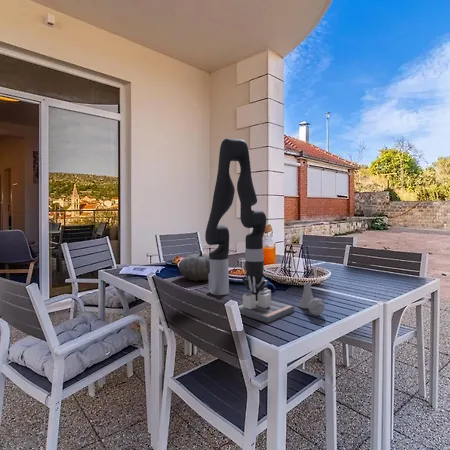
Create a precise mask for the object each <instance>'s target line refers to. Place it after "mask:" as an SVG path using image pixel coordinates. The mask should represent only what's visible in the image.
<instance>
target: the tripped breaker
mask: <svg viewBox="0 0 450 450" xmlns="http://www.w3.org/2000/svg"><path fill="white" fill-rule="evenodd" d="M258 306H259V307H263V308H268V307H270V306H271V305H270V294H268V293H267V292H262V293H259V294H258Z"/></svg>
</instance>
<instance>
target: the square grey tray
mask: <svg viewBox="0 0 450 450" xmlns="http://www.w3.org/2000/svg"><path fill="white" fill-rule="evenodd" d="M270 305H271V306H270V307H268V308H263V307H259V306H258V301H256V308H253V309H247V308H244V307H243V304H240V305H238V306H239V308H240V311H241V314H242V316H244V315H245V316H246V317H248V318H251V319H253V320H257V321H260V322H264V323H270V322H273V321H276V320H278V319H280V318H282V317H284V316H288V315H289V314H292V313H293V312H295V306H293V305H290V304H286V303H281V302H278V301H275V300H271V302H270ZM241 314H240V315H241ZM245 316H244V317H245Z"/></svg>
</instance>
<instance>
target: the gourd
mask: <svg viewBox="0 0 450 450" xmlns="http://www.w3.org/2000/svg"><path fill="white" fill-rule="evenodd" d="M178 269H179V272H180V274H181V275H182V276H184V278H185V279H188V280H190V281H192V280H193V282H199V281H201V280H203V281H209V278H208V274H209V273H210V264H209V255H203V251H202V250H200V253H199V254H195V253H190V254H188V255H186V256H185V257H183V258H182V259H181V260H180V262H179V263H178ZM198 280H199V281H198Z"/></svg>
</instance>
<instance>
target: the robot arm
mask: <svg viewBox="0 0 450 450" xmlns="http://www.w3.org/2000/svg"><path fill="white" fill-rule="evenodd" d="M218 155H219V156H218V167H217V175H216V182H215V185H214V192H213V197H212V204H211V210H210V214H209V218H208V220H207V223H206V224H207V225H206V229H205V234H204V237H205V238H204V239H205V242H206V244H207V245H209V246H216V245H217V248H216V249H214V250H213V251H210V252H209V255H208V256H209V264H210V273H209V274H208V278H209V280H208V293H209V292H210V293H211V294H210V293H209V294H210V295H212V294H213V295H212V296H225V295H228V294H229V293H230V288H229V287H230V284H229V283H230V280H229V278H230V277H229V253H230V231H229V228H228V226H226V225H223V224H222V225H219V223H220V221H221V219H222V218H223V216H224V215H225V214H226V213H227V212H228V211H229V209H230V208H231V206H232V205H233V203H234V202H233V201H234V198H235V191H236V190H237V194H238V198H239V202H240V203H239V204H240V209H239V210H240V212H239V215H240V222H241V224H242V226H243V227H244V228H246V229H252V230H251V232H249V233H248V234H246V235H245V240H244V241H245V250H244V251H245V254H244V262H245V264H244V266H245V267H244V268H245V271H246V272H245V275H244V276H241V280H242V281H243V284H244V286H245V288H246V290H249V291H250V293H252V294H253V295H256V301H258V294H259V292H260V291H263V289H264V288H266V287H267V285H268V284H269V280H268V279H266V278H265V275H264V269H265V263H264V260H265V259H264V258H265V255H264V247H263V246H264V239H263V238H264V234H265V231H266V226H267V216H266V214H265V212H264V211H262V210H260V209H257V210H256V209H255V210H254V209H253V210H252V206H255V205H256V204H257V203H258V198H257V193H256V190H255V186H254V183H253V178H252V170H251V169H252V168H251V161H250V160H251V159H250V153H249V146H248V144H247V142H246V141H245V140H244V139H238V138H225V139H223V140H222V141H221V143H220V148H219V153H218ZM231 162H238V164H239V167H240V172H239V176H238V179H237V184H236V190H235V185H234V182H233V180H232V178H231V174H230V166H231Z"/></svg>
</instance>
